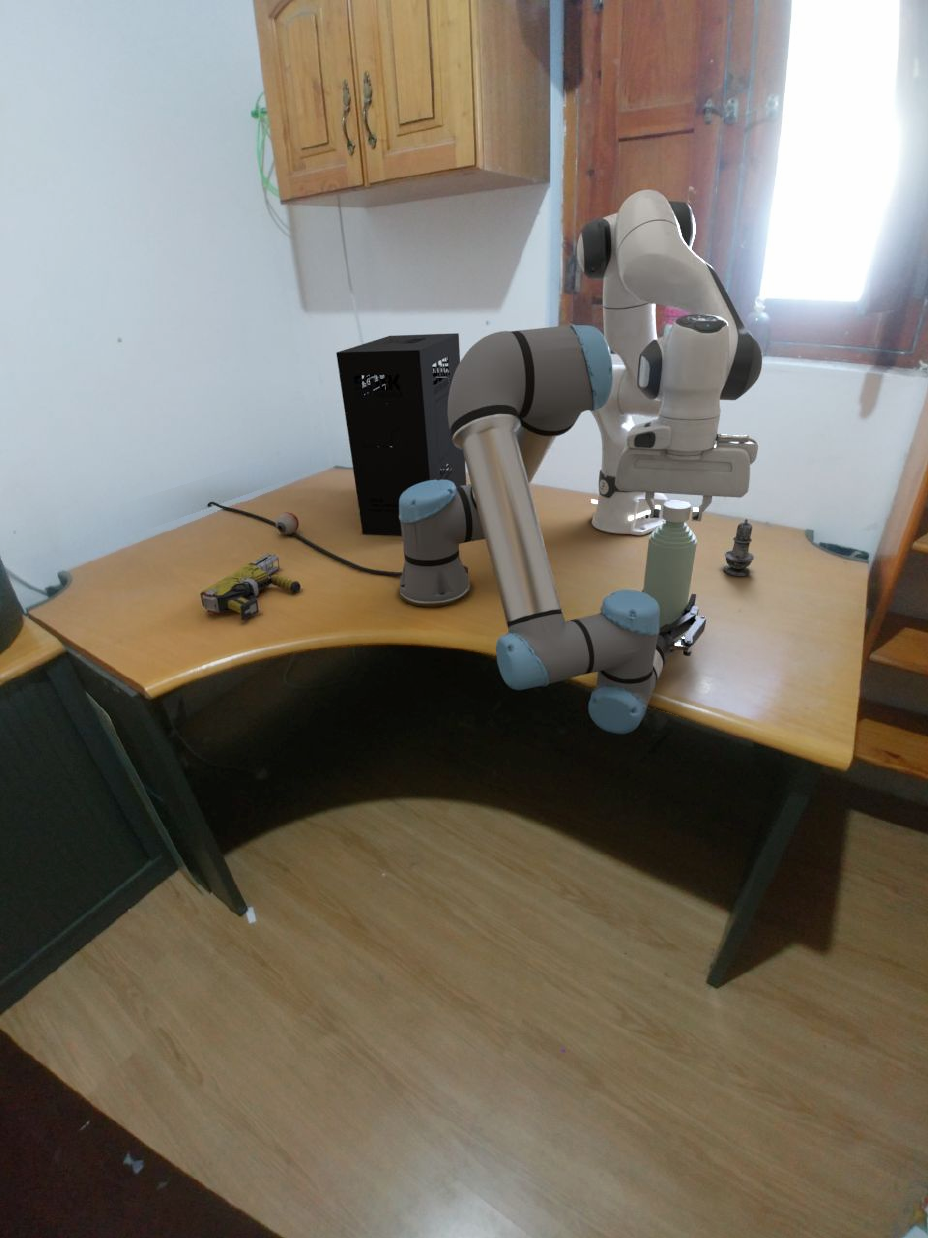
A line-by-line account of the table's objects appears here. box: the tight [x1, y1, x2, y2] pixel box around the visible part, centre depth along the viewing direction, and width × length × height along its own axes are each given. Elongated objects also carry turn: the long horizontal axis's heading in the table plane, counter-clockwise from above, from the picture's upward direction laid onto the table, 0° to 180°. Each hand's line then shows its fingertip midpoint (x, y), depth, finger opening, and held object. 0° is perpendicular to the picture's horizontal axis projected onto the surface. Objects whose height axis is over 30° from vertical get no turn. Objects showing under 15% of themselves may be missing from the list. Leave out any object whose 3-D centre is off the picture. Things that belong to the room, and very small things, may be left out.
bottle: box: [642, 521, 698, 642], centre depth 105 cm, size 8×8×25 cm
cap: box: [662, 499, 692, 523], centre depth 99 cm, size 4×4×2 cm
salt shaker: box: [723, 518, 755, 577], centre depth 129 cm, size 6×6×12 cm
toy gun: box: [199, 552, 301, 621], centre depth 133 cm, size 5×24×15 cm
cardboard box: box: [335, 332, 467, 536], centre depth 165 cm, size 38×20×45 cm, turn 167°
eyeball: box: [275, 511, 300, 536], centre depth 163 cm, size 6×6×6 cm
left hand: (669, 596), depth 112 cm, fingers closed on bottle, 8 cm apart
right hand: (675, 518), depth 100 cm, fingers open, 5 cm apart
